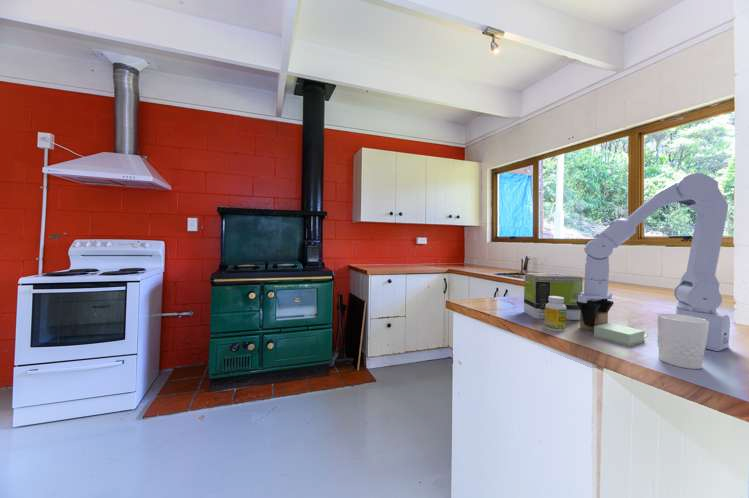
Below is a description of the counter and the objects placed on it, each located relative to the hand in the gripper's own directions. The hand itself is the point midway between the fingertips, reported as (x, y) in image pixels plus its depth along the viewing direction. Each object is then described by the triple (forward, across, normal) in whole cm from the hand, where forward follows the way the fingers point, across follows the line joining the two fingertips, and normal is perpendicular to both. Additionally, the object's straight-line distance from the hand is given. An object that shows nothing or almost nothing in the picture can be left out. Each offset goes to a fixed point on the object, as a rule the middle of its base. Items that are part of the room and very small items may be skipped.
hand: (593, 324), depth 91 cm
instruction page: (+1, -4, +6) cm, 7 cm away
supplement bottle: (+2, +11, -5) cm, 12 cm away
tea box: (+2, -3, -15) cm, 15 cm away
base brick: (+1, +4, +8) cm, 9 cm away
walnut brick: (+1, 0, 0) cm, 1 cm away
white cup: (+2, +10, +22) cm, 24 cm away
